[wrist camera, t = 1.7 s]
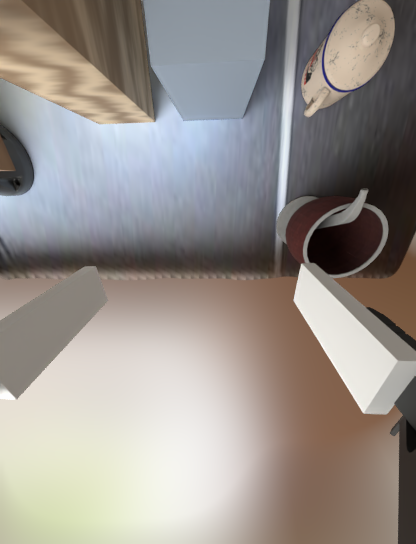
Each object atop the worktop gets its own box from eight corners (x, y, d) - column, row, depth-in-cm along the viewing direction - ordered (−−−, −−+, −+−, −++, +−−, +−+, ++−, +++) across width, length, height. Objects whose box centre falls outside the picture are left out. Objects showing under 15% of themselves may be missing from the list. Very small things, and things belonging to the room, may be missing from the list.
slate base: (183, 120, 37) (150, 65, 19) (176, -3, 30) (111, -275, 12) (242, 118, 36) (264, 59, 18) (249, -8, 29) (296, -307, 11)
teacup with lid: (325, 28, 30) (381, -50, 20) (363, 65, 32) (432, 10, 22) (278, 109, 35) (303, 79, 25) (313, 137, 37) (349, 120, 27)
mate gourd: (328, 243, 47) (395, 282, 29) (274, 252, 49) (305, 294, 31) (335, 178, 40) (428, 177, 22) (271, 191, 42) (310, 199, 24)
